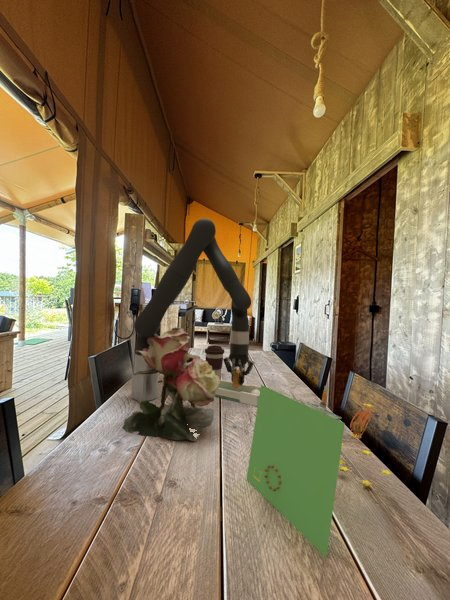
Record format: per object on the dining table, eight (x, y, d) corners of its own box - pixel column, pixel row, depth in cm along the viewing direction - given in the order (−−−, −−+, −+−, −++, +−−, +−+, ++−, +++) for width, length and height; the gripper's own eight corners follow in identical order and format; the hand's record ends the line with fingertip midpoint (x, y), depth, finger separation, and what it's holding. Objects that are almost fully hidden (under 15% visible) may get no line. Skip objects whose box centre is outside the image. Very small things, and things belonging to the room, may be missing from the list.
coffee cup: (223, 379, 138) (224, 348, 138) (202, 378, 138) (203, 347, 138) (223, 373, 148) (224, 345, 148) (204, 372, 148) (205, 344, 148)
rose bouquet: (211, 446, 77) (215, 336, 76) (114, 432, 83) (117, 330, 82) (228, 409, 102) (231, 326, 102) (152, 400, 108) (155, 322, 107)
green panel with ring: (403, 521, 58) (417, 404, 60) (324, 559, 45) (344, 408, 46) (318, 464, 77) (330, 376, 78) (244, 480, 64) (260, 374, 65)
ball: (259, 400, 109) (256, 390, 110) (250, 401, 111) (247, 391, 112) (263, 397, 113) (260, 387, 114) (254, 398, 115) (251, 388, 115)
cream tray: (259, 406, 106) (259, 396, 106) (204, 394, 117) (204, 384, 117) (268, 397, 116) (268, 388, 116) (217, 386, 127) (217, 377, 127)
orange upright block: (237, 395, 113) (237, 373, 113) (231, 394, 114) (232, 372, 114) (243, 391, 118) (243, 370, 118) (237, 390, 119) (238, 369, 119)
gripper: (220, 341, 115) (218, 383, 116) (252, 345, 109) (250, 389, 109) (228, 338, 122) (226, 378, 122) (258, 342, 116) (257, 384, 116)
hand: (237, 383), depth 116 cm, fingers closed on orange upright block, 2 cm apart
